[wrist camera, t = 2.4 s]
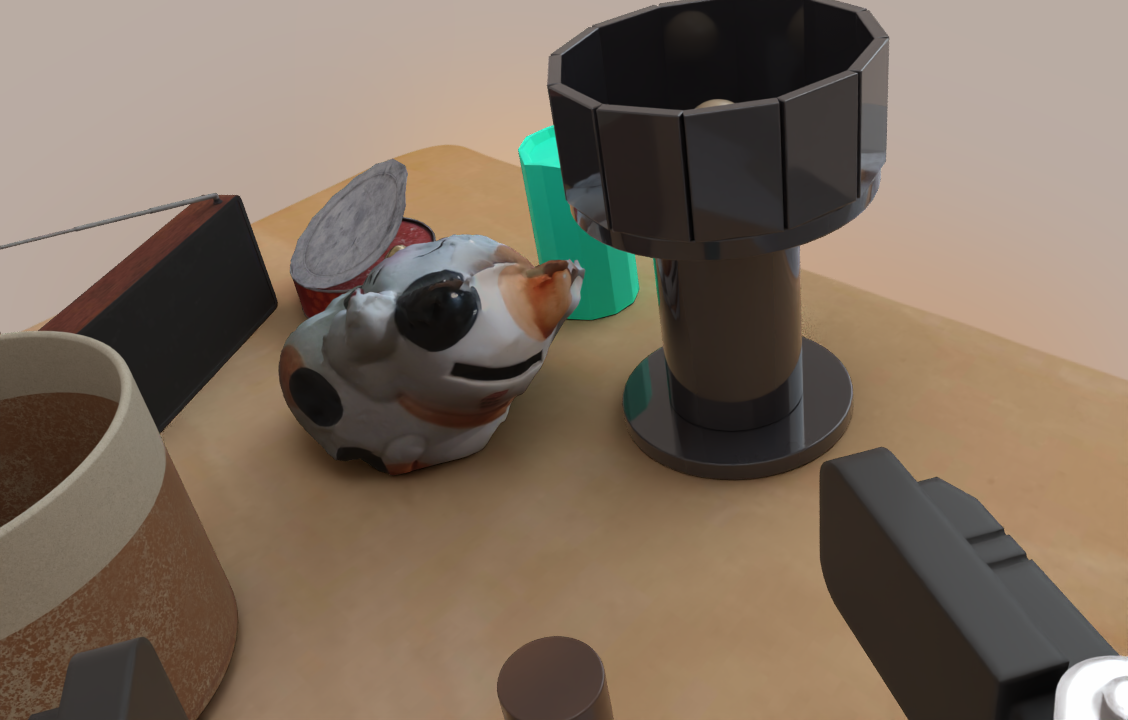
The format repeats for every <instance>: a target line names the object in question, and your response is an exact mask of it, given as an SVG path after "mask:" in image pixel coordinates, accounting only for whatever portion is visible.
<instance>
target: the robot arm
mask: <svg viewBox="0 0 1128 720" xmlns="http://www.w3.org/2000/svg"><path fill="white" fill-rule="evenodd" d="M820 561H821V567H822V572H823V576H824V579H825V582H826V585H827V588H828V591H829V593H830V595H831V598H832V600H833V602H834V604H835V605H836V607H837V609H838V610H839V612H840V613H841V615H842V616H843V618H844V620H845V621H846V623H847V624H848V626H849V627H850V629H851V630H852V632H853V634H854V635H855V637H856V638H857V640H858V641H859V643H860V645H861V646H862V648H863V649H864V651H865V652H866V654H867V656H868V657H869V659H870V660H871V662H872V663H873V665H874V666H875V668H876V670H877V671H878V673H879V674H880V676H881V677H882V679H883V681H884V682H885V684H886V685H887V687H888V688H889V690H890V691H891V693H892V695H893V696H894V698H895V699H896V701H897V702H898V704H899V706H900V707H901V709H902V710H903V712H904V713H905V715H906V717H907V718H908V720H1128V657H1125V656H1120V655H1119V654H1118V653H1117V652H1116V651H1115V650H1114V649H1113V648H1112V647H1111V646H1110V645H1109V644H1108V643H1107V641H1106V640H1105V639H1104V638H1103V637H1102V636H1101V635H1100V634H1099V633H1098V632H1097V630H1096V629H1095V628H1094V627H1093V626H1092V625H1091V624H1090V623H1089V622H1088V621H1087V619H1086V618H1085V617H1084V616H1083V615H1082V614H1081V613H1080V612H1079V611H1078V610H1077V608H1076V607H1075V606H1074V605H1073V604H1072V603H1071V602H1070V601H1069V600H1068V599H1067V597H1066V596H1065V595H1064V594H1063V593H1062V592H1061V591H1060V590H1059V589H1058V588H1057V586H1056V585H1055V584H1054V583H1053V582H1052V581H1051V580H1050V579H1049V578H1048V577H1047V575H1046V574H1045V573H1044V572H1043V571H1042V570H1041V569H1040V568H1039V567H1038V566H1037V564H1036V563H1035V562H1034V561H1033V560H1032V559H1031V560H1028V558H1027V556H1026V552H1025V551H1024V550H1023V549H1022V548H1021V547H1020V546H1019V545H1018V544H1017V542H1016V541H1015V540H1014V539H1013V538H1012V537H1011V536H1010V535H1006V534H1005V532H1004V528H1003V527H1002V526H1001V525H1000V524H999V523H998V522H997V521H996V519H995V518H994V517H993V516H992V515H991V514H990V513H989V512H988V511H987V510H986V508H985V507H984V506H983V505H982V504H981V503H980V502H979V501H978V500H977V499H976V498H974V497H973V496H971V495H969V494H967V493H965V492H964V491H962V490H960V489H958V488H956V487H955V486H953V485H951V484H949V483H947V482H946V481H944V480H942V479H940V478H938V477H934V478H931V479H927V480H923V481H919V482H917V481H916V480H915V479H914V478H913V477H912V476H911V474H910V473H909V472H908V471H907V470H906V468H905V467H904V466H903V465H902V464H901V463H900V461H899V460H898V459H897V458H896V457H895V456H894V454H893V453H892V452H891V451H889V450H888V449H886V448H884V447H879V448H875V449H872V450H868V451H864V452H860V453H856V454H852V455H848V456H845V457H841V458H837V459H833V460H829V461H826V462H824V463H823V464H822V466H821V469H820ZM28 720H189V719H188V717H187V715H186V713H185V711H184V709H183V707H182V705H181V703H180V701H179V699H178V696H177V694H176V692H175V690H174V688H173V686H172V684H171V682H170V680H169V678H168V676H167V674H166V672H165V670H164V668H163V665H162V663H161V661H160V659H159V657H158V655H157V653H156V651H155V649H154V647H153V645H152V644H151V642H150V641H149V640H148V639H147V638H145V637H139V638H135V639H131V640H127V641H123V642H119V643H115V644H112V645H108V646H104V647H100V648H96V649H92V650H88V651H85V652H81V653H77V654H75V655H73V657H72V658H71V660H70V662H69V665H68V668H67V673H66V677H65V682H64V687H63V691H62V696H61V700H60V705H59V707H58V708H54V709H51V710H47V711H43V712H39V713H36V714H32V715H31V716H30V717H29V719H28Z"/></svg>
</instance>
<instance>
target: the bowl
mask: <svg viewBox="0 0 1128 720" xmlns="http://www.w3.org/2000/svg"><path fill="white" fill-rule="evenodd" d="M888 62H889V36H888V35H887V34H886V32H885V31H884V29H883V28H882V27H881V25H880V24H879V23H878V21H877V20H876V19H875V17H874V16H873V15H872V13H871V12H870V11H869V10H867V9H866V8H862V7H858V6H854V5H851V4H847V3H843V2H840V1H836V0H681V1H674V2H667V3H660V4H659V6H656V5H652V6H649V7H646V8H643V9H640V10H637V11H634V12H631V13H628V14H625V15H622V16H619V17H617V18H613V19H610V20H607V21H604V22H601V23H598V24H595V25H593V26H592V27H588V28H587V29H585V30H584V31H583V32H581V33H580V34H578V35H577V36H576V37H574V38H573V39H571V40H570V41H569V42H567V43H566V44H564V45H563V46H562V47H560V48H559V49H557V50H556V51H555V52H553V53H552V54H551V56H549V61H548V79H547V88H548V94H549V100H550V106H551V112H552V119H553V125H554V131H555V137H556V143H557V149H558V156H559V162H560V168H561V174H562V180H563V186H564V192H565V199H566V201H567V202H568V204H569V207H570V212H571V214H572V216H573V218H574V220H575V221H576V223H577V224H578V225H579V226H580V228H581V229H582V230H584V231H585V232H586V233H587V234H588V235H590V236H591V237H593V238H594V239H596V240H598V241H600V242H601V243H603V244H606V245H608V246H610V247H613V248H615V249H618V250H621V251H625V252H628V253H631V254H635V255H640V256H645V257H650V258H653V263H654V271H655V280H656V289H657V297H658V306H659V315H660V324H661V332H662V341H663V347H661V348H659V349H658V350H656V351H654V352H653V353H651V354H650V355H649V356H648V357H646V358H645V359H644V360H643V361H642V362H641V363H640V364H639V365H638V366H637V367H636V368H635V369H634V371H633V372H632V374H631V375H630V376H629V378H628V381H627V383H626V385H625V388H624V392H623V398H622V406H623V412H624V419H625V424H626V427H627V430H628V432H629V434H630V436H631V437H632V439H633V441H634V442H635V443H636V444H637V446H638V447H639V448H640V449H641V450H642V451H643V452H644V453H646V454H647V455H648V456H650V457H651V458H652V459H654V460H656V461H657V462H659V463H661V464H662V465H665V466H667V467H669V468H671V469H674V470H676V471H679V472H683V473H686V474H689V475H694V476H699V477H703V478H712V479H724V480H740V479H754V478H760V477H767V476H771V475H775V474H779V473H783V472H786V471H789V470H792V469H795V468H798V467H800V466H802V465H804V464H806V463H808V462H811V461H812V460H814V459H816V458H817V457H819V456H820V455H822V454H823V453H825V452H826V451H827V450H828V449H830V448H831V447H832V446H833V445H834V444H835V443H836V442H837V441H838V440H839V439H840V438H841V436H842V435H843V433H844V432H845V430H846V429H847V427H848V424H849V422H850V420H851V416H852V411H853V386H852V382H851V378H850V376H849V374H848V372H847V370H846V368H845V367H844V365H843V364H842V363H841V361H840V360H839V359H838V358H837V357H836V356H835V355H834V354H833V353H831V352H830V351H829V350H827V349H826V348H825V347H823V346H821V345H820V344H818V343H816V342H814V341H812V340H810V339H807V338H805V337H803V336H802V318H801V278H800V245H803V244H806V243H808V242H811V241H813V240H816V239H818V238H821V237H823V236H826V235H828V234H830V233H832V232H833V231H835V230H837V229H839V228H841V227H842V226H844V225H846V224H847V223H849V222H850V221H852V220H853V219H855V218H856V217H857V216H858V215H859V214H860V213H862V212H863V211H864V210H865V209H866V208H867V206H868V205H869V204H870V203H871V202H872V200H873V198H874V197H875V195H876V193H877V191H878V188H879V184H880V180H881V179H880V178H881V168H882V166H883V164H884V163H885V162H886V139H887V102H888V101H887V99H888V64H889V63H888ZM713 99H723V100H728V101H731V102H733V103H734V104H727V105H719V106H712V107H705V108H697V109H695V108H696V107H697V106H699V105H700V104H702V103H704V102H706V101H709V100H713Z"/></svg>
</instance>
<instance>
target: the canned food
mask: <svg viewBox="0 0 1128 720" xmlns="http://www.w3.org/2000/svg"><path fill="white" fill-rule="evenodd" d="M407 176H408V173H407V170H406V167H405V165H403V164H402V163H400V162H398V161H396V160H394V159H390V160H388V161H385V162H382V163H378V164H375V165H374V166H372V167H371V168H370V169H368V170H367V171H365V172H364V173H362V174H360V175H358V176H356V177H355V178H354V179H353V180H352V181H351V182H350V183H349V184H348V185H347V186H346V187H344V188H343V189H342V190H340V191H339V192H338V193H336V194H335V195H334V196H332V198H331V199H330V200H329V201H328V202H327V204H326V205H325V206H324V207H323V208H322V209H321V210H320V211H319V212H318V213H317V214H316V215H315V216H314V217H313V218H312V220H311V221H310V223H309V225H308V226H307V228H306V230H305V231H304V232H303V234H302V235H301V236H300V238H299V239H298V241H297V245H296V248H295V251H294V254H293V256H292V259H291V264H290V274H291V276H292V279H293V281H294V284H295V287H296V290H297V293H298V296H299V299H300V302H301V305H302V309H303V312H304V314H305V316H306V317H307V318H308V319H309V318H311V317H313V316H315V315H317V314H319V313H321V312H323V311H325V309H326V308H327V306H328V305H329V304H330V303H331V301H332V300H333V299H335V298H337V297H339V296H341V295H342V294H345V293H347V292H348V291H349V290H351V289H353V288H354V287H356V286H361V285H363V283H364V281H365V279H366V278H367V276H368V275H369V273H370V272H371V270H372V269H373V268H374V267H375V266H377V265H378V264H379V263H380V262H382V261H383V260H384V258H385V256H386V255H387V253H388V252H389V251H390V250H391V249H392V248H393V247H394V246H396V245H404V246H406V247H408V246H410V245H413V244H421V243H428V242H434V241H436V239H435V234H434V232H433V231H432V229H431V228H430V227H429V226H427V225H426V224H424V223H423V222H420V221H418V220H415V219H410V218H405V217H403V215H404V211H405V207H406V203H405V191H406V181H407Z"/></svg>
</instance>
